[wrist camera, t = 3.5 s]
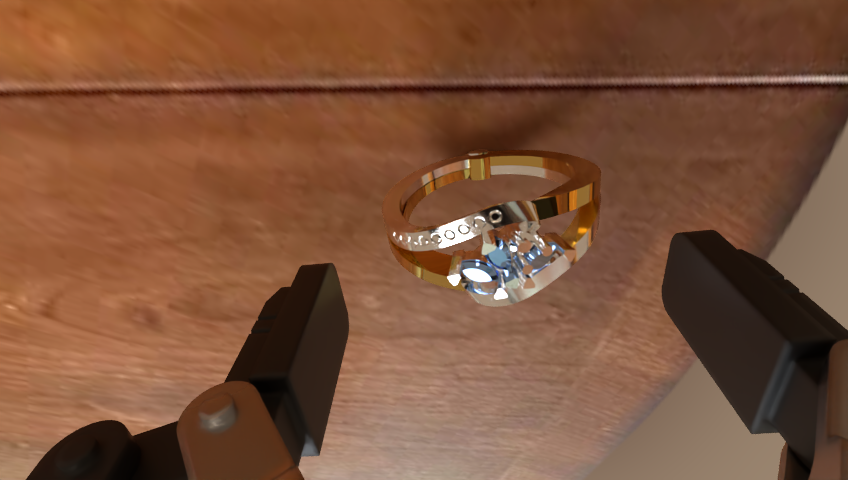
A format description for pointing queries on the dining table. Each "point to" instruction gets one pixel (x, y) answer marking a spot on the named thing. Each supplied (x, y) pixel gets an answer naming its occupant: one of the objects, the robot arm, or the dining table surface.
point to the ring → (497, 225)
